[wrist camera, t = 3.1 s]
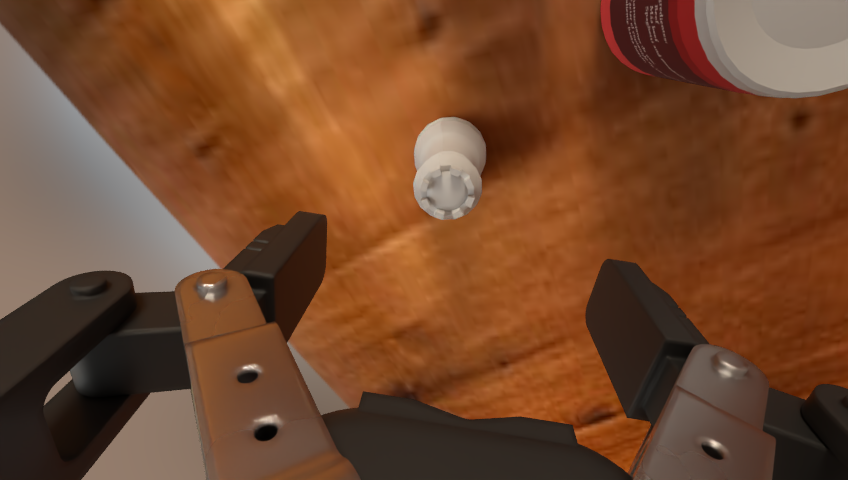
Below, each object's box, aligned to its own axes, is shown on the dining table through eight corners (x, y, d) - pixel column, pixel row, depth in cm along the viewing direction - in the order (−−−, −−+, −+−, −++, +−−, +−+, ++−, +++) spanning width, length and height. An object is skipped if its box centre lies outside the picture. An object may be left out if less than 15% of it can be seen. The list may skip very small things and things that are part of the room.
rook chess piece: (406, 126, 25) (385, 160, 18) (477, 106, 25) (484, 133, 17) (425, 193, 27) (413, 247, 20) (492, 176, 26) (505, 227, 19)
